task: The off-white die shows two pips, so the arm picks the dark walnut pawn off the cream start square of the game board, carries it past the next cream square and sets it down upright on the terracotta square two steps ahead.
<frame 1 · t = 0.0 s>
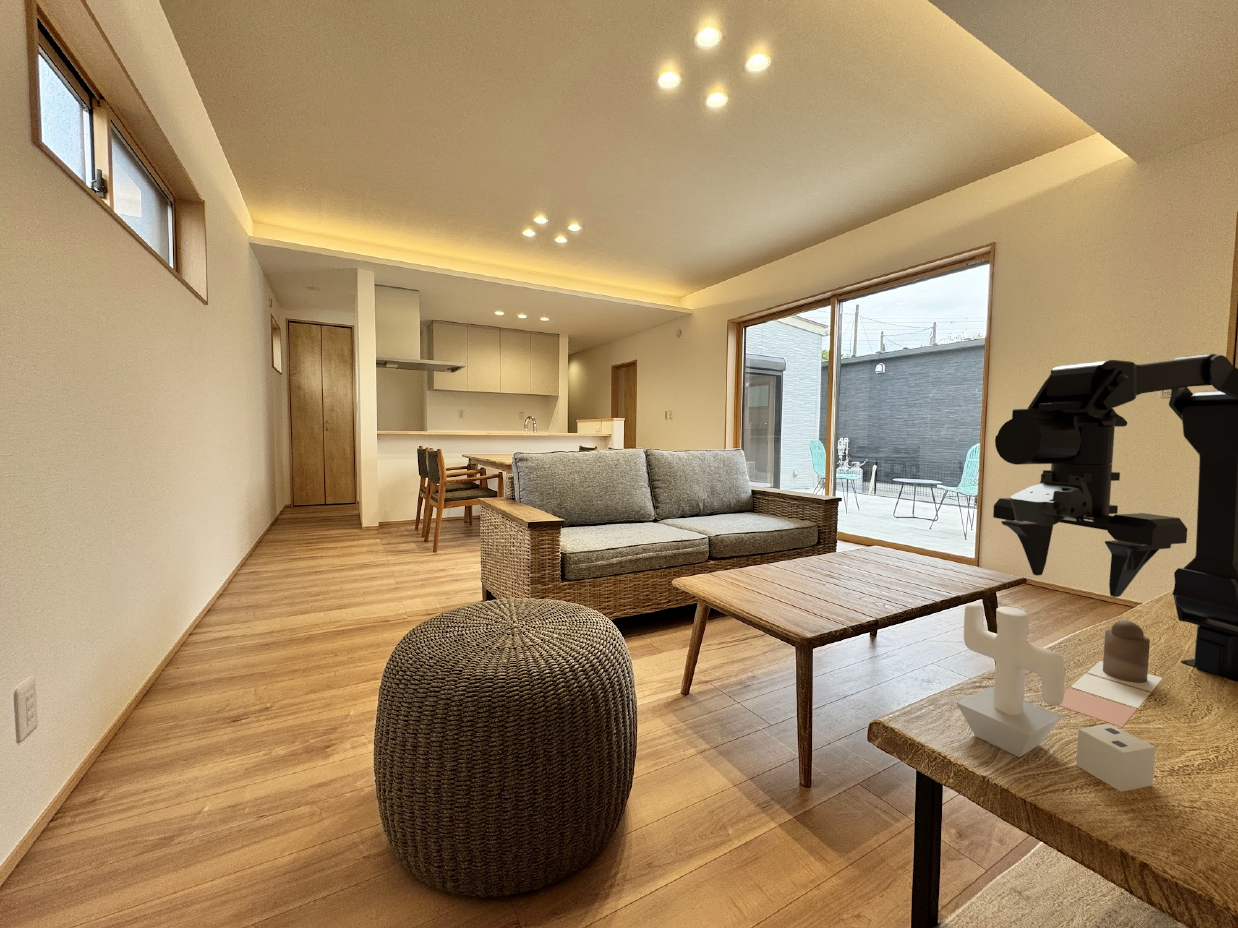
hand: (1073, 584, 66), 15 cm above the table, tool pointing down, fingers open, 9 cm apart
pawn: (1124, 675, 72), resting on game board
figurine: (1006, 741, 58), on the table
game board: (1093, 709, 64), on the table
die: (1113, 775, 52), on the table
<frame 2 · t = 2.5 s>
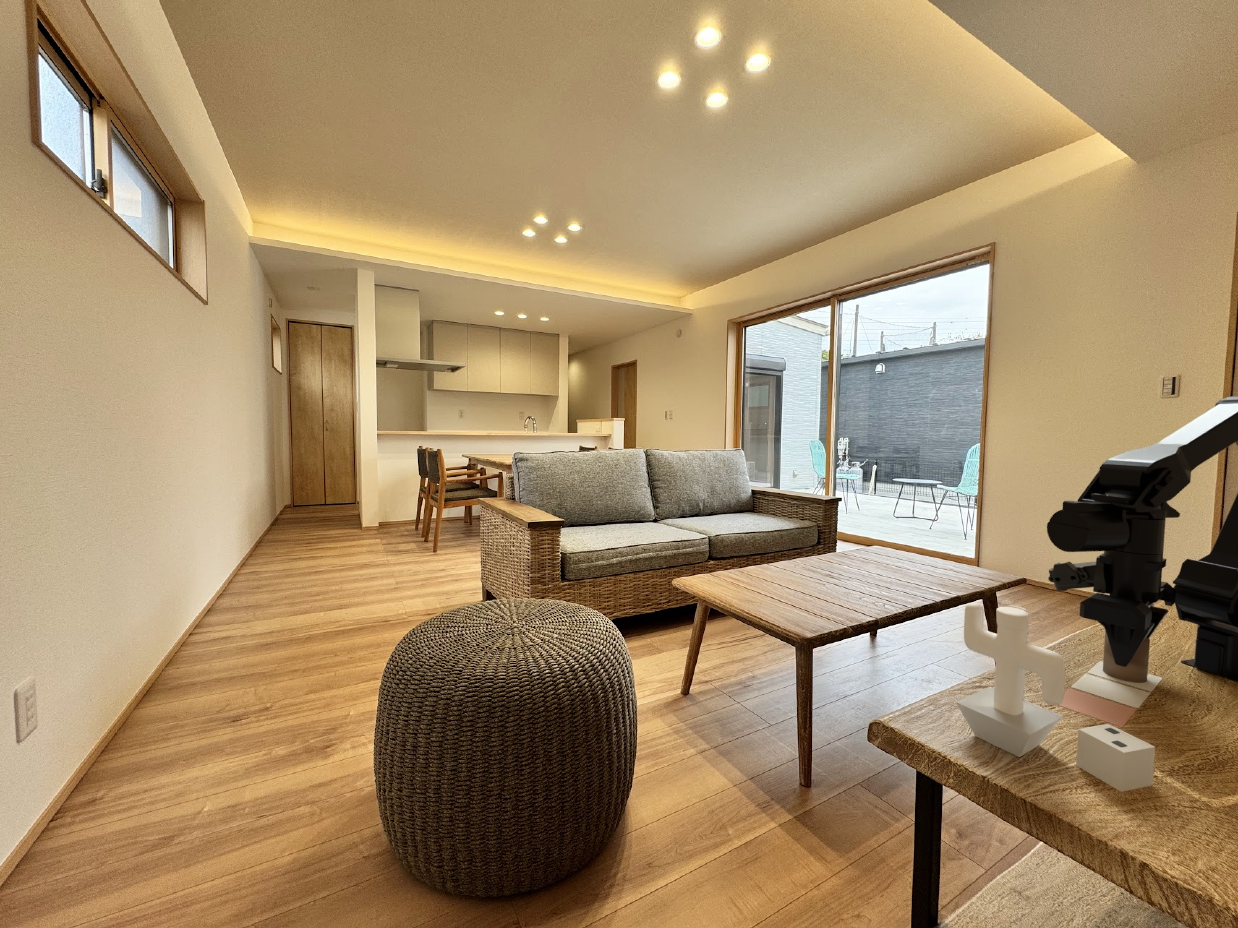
hand: (1125, 660, 71), 3 cm above the table, tool pointing down, fingers closed on pawn, 4 cm apart
pawn: (1124, 674, 72), resting on game board, touching gripper
everything else where it was.
when the fingers open (4 cm above the table, at t = 7.3 s): pawn drops 1 cm, resting on game board.
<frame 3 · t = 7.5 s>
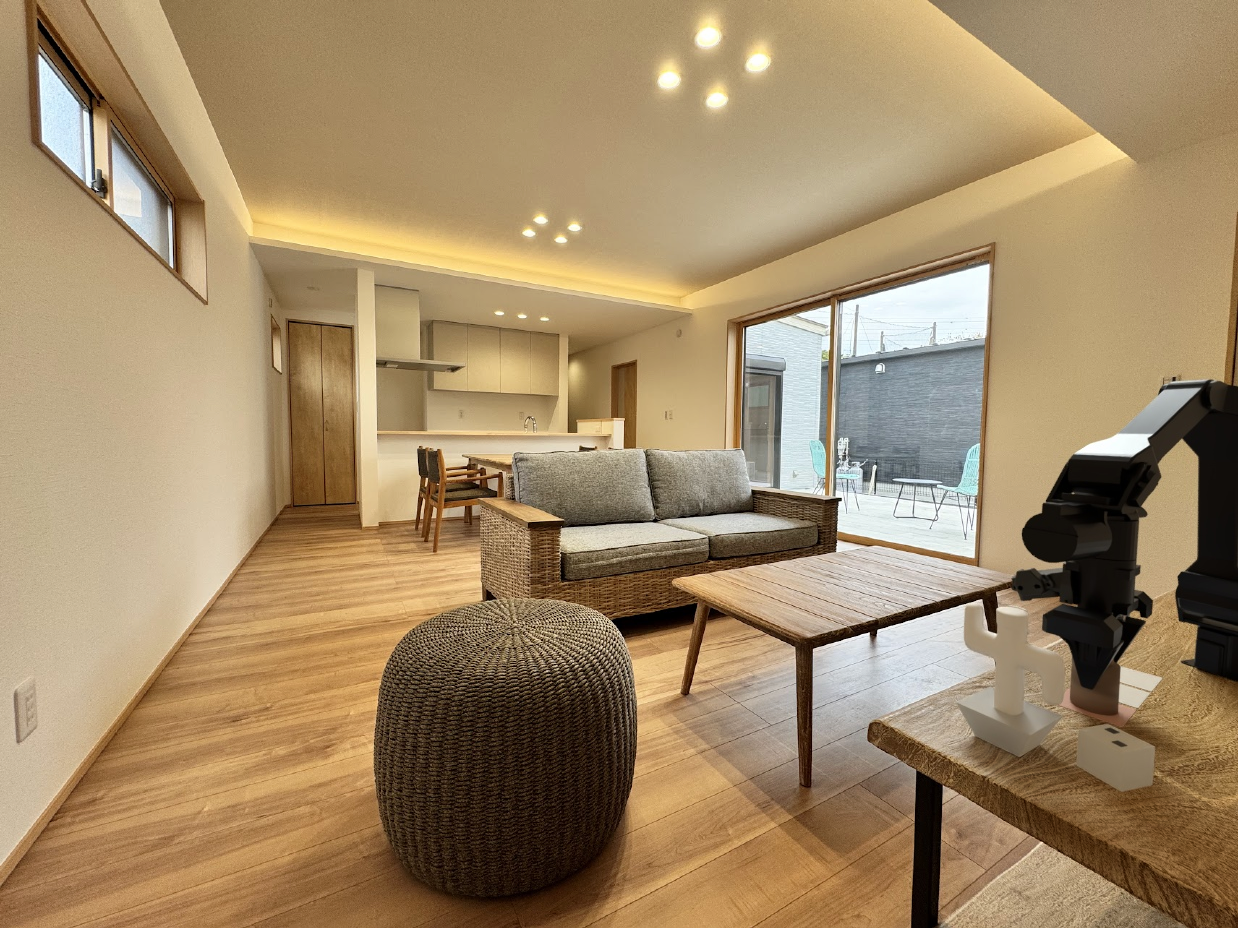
hand: (1095, 680, 63), 4 cm above the table, tool pointing down, fingers open, 6 cm apart
pawn: (1093, 705, 64), point 1 cm above the table, touching game board
everything else where it was.
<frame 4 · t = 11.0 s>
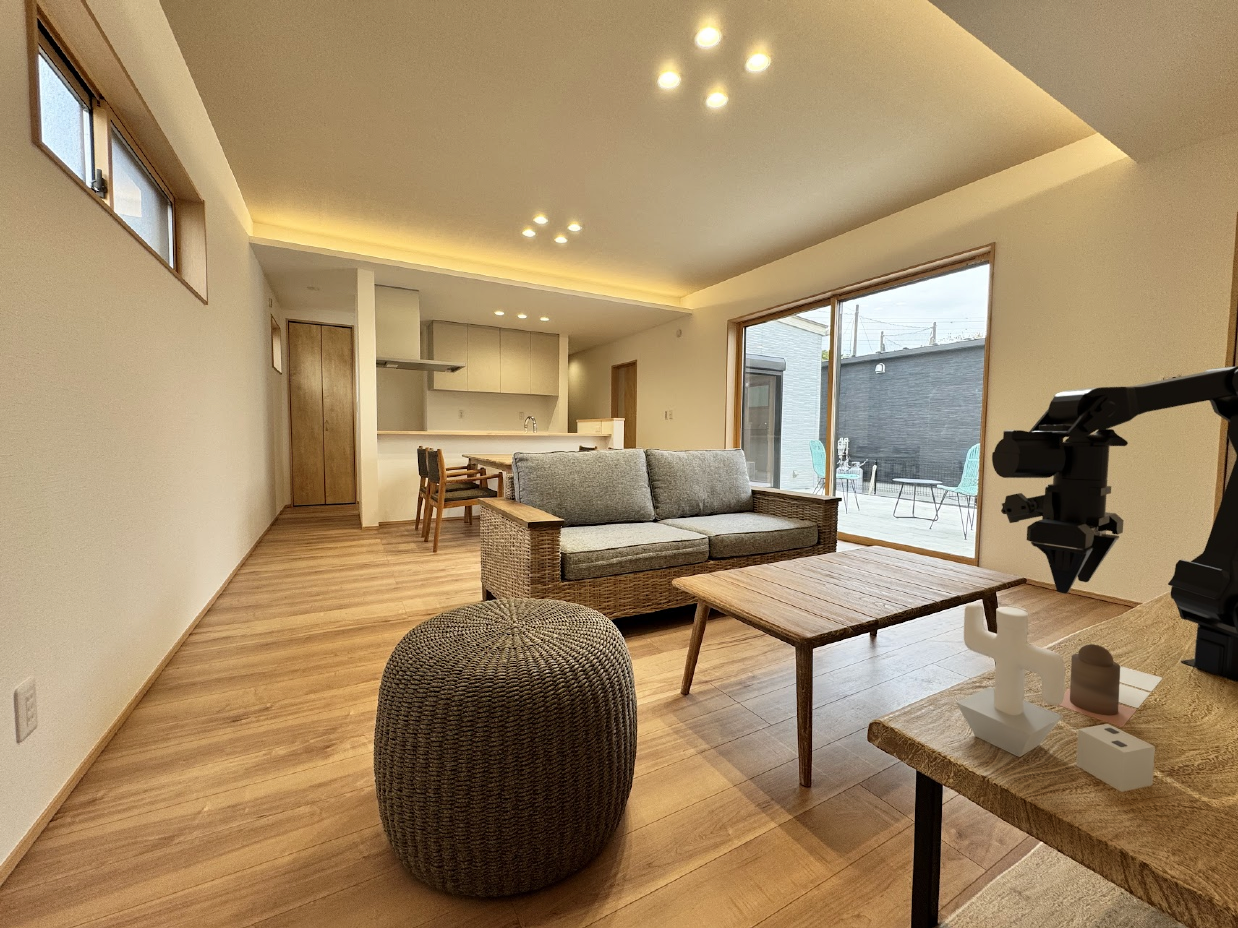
hand: (1073, 586, 74), 12 cm above the table, tool pointing down, fingers open, 9 cm apart
nothing on the table moved.
at the end: pawn 0.1 cm from the game board (horizontally); pawn tilted 1°; the gripper is holding nothing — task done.
